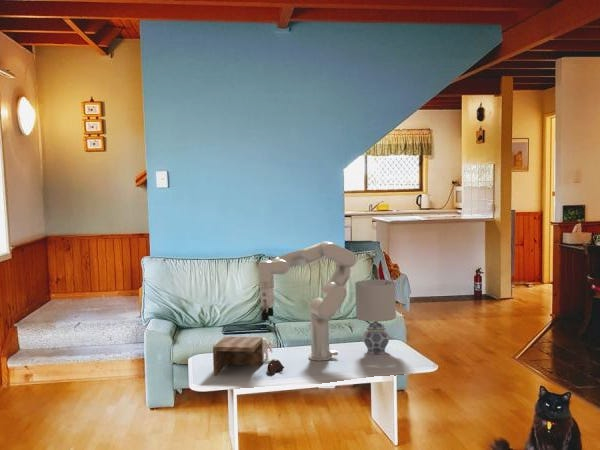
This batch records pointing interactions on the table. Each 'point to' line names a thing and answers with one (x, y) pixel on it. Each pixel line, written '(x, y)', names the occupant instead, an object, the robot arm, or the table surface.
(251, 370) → the table surface
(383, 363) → the table surface
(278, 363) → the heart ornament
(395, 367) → the table surface
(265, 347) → the cream tall piece
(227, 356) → the open wooden box
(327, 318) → the robot arm
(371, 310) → the lamp
